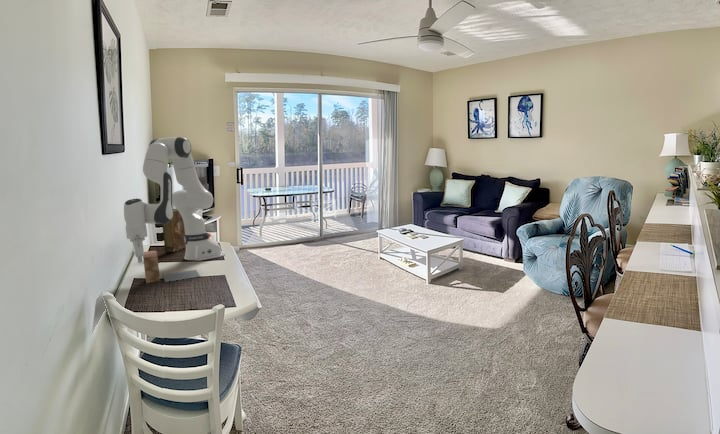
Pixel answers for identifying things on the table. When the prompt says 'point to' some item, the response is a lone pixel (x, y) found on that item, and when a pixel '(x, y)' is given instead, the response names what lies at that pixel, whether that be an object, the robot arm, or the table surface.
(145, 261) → the walnut block
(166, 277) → the mat
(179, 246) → the book
